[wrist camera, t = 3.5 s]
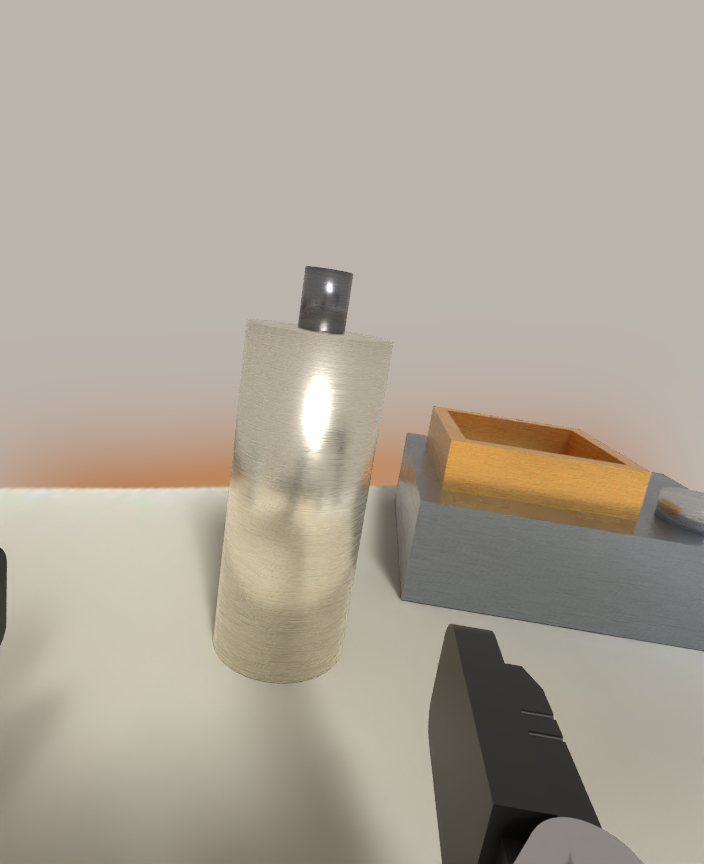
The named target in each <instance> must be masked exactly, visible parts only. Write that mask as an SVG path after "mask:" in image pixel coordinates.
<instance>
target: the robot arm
mask: <svg viewBox="0 0 704 864" xmlns="http://www.w3.org/2000/svg"><path fill="white" fill-rule="evenodd" d="M6 589H7V560H6V555H5V552H4V551H3V550H2V549H1V548H0V645H1V642H2V640H3V637H4V634H5V629H6ZM428 734H429V747H430V756H431V765H432V774H433V783H434V792H435V801H436V811H437V820H438V829H439V838H440V847H441V856H442V864H643V862H642V861H641V860H640V859H639V858H638V857H637V856H636V855H635V854H634V853H633V852H632V851H631V850H630V849H629V848H628V847H627V846H626V845H625V844H623V843H622V842H621V841H620V840H618V839H617V838H616V837H614V836H613V835H611V834H610V833H608V832H606V831H605V830H603V829H602V827H601V825H600V823H599V820H598V818H597V816H596V813H595V811H594V809H593V806H592V804H591V802H590V799H589V797H588V795H587V792H586V790H585V787H584V785H583V783H582V780H581V778H580V776H579V773H578V771H577V769H576V766H575V764H574V762H573V759H572V757H571V755H570V752H569V750H568V748H567V745H566V743H565V742H563V736H562V733H561V731H560V729H559V726H558V724H557V722H556V720H554V719H553V712H552V710H551V708H550V705H549V703H548V701H547V698H546V696H545V693H544V691H543V689H542V688H541V687H540V686H539V685H538V684H537V683H536V682H535V680H534V679H533V678H532V677H531V676H530V675H529V674H528V673H527V672H526V671H525V670H524V668H523V667H522V666H517V665H511V664H505V663H504V660H503V658H502V655H501V652H500V649H499V646H498V643H497V640H496V637H495V635H494V633H493V632H492V631H490V630H484V629H478V628H472V627H466V626H460V625H454V624H450V625H449V626H448V628H447V630H446V633H445V637H444V642H443V646H442V651H441V656H440V660H439V665H438V670H437V674H436V679H435V684H434V688H433V693H432V698H431V703H430V711H429V726H428Z"/></svg>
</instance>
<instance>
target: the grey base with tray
mask: <svg viewBox="0 0 704 864" xmlns="http://www.w3.org/2000/svg"><path fill="white" fill-rule="evenodd" d="M395 507H396V523H397V539H398V554H399V570H400V586H401V600H406V601H412V602H418V603H424V604H430V605H435V606H441V607H447V608H453V609H459V610H465V611H471V612H477V613H483V614H489V615H495V616H501V617H507V618H513V619H519V620H525V621H530V622H536V623H542V624H548V625H554V626H560V627H566V628H572V629H578V630H584V631H590V632H596V633H602V634H608V635H614V636H620V637H626V638H631V639H637V640H643V641H649V642H655V643H661V644H667V645H673V646H679V647H685V648H691V649H697V650H703V651H704V493H702V492H698V491H693V490H690V489H688V488H686V487H684V486H683V485H681V484H679V483H677V482H676V481H674V480H672V479H671V478H669V477H667V476H665V475H664V474H660V473H654V472H650V471H648V470H647V469H645V468H643V467H642V466H640V465H638V464H637V463H635V462H633V461H632V460H630V459H628V458H626V457H625V456H623V455H621V454H620V453H618V452H617V451H615V450H613V449H611V448H610V447H608V446H606V445H605V444H603V443H601V442H600V441H598V440H596V439H595V438H593V437H591V436H590V435H588V434H586V433H585V432H583V431H581V430H580V429H573V428H567V427H561V426H555V425H548V424H542V423H536V422H529V421H523V420H517V419H511V418H505V417H499V416H492V415H486V414H480V413H474V412H467V411H461V410H454V409H448V408H442V407H436V406H433V410H432V416H431V421H430V426H429V432H428V436H425V435H418V434H412V433H407V436H406V441H405V446H404V452H403V458H402V463H401V469H400V474H399V480H398V485H397V491H396V496H395Z"/></svg>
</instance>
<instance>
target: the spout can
mask: <svg viewBox="0 0 704 864" xmlns="http://www.w3.org/2000/svg"><path fill="white" fill-rule="evenodd" d="M352 279H353V274H351V273H348V272H343V271H337V270H332V269H326V268H319V267H311V266H306V268H305V275H304V283H303V291H302V298H301V307H300V315H299V322H298V324H293V323H285V322H276V321H267V320H254V319H249V320H247V325H246V335H245V344H244V353H243V363H242V372H241V381H240V392H239V400H238V410H237V419H236V430H235V438H234V447H233V457H232V466H231V476H230V485H229V494H228V504H227V513H226V522H225V532H224V541H223V550H222V560H221V569H220V579H219V588H218V597H217V607H216V616H215V626H214V635H213V644H214V648H215V651H216V653H217V655H218V656H219V657H220V659H221V660H222V661H223V662H224V663H225V664H226V665H227V666H229V667H230V668H231V669H233V670H234V671H236V672H238V673H240V674H242V675H244V676H247V677H249V678H252V679H256V680H260V681H264V682H272V683H294V682H301V681H305V680H309V679H312V678H315V677H318V676H320V675H322V674H323V673H325V672H327V671H328V670H329V669H331V668H332V667H333V666H334V665H335V664H336V662H337V661H338V659H339V657H340V655H341V651H342V646H343V640H344V634H345V628H346V622H347V616H348V610H349V604H350V598H351V592H352V586H353V580H354V574H355V568H356V562H357V556H358V550H359V544H360V538H361V533H362V527H363V521H364V515H365V509H366V503H367V497H368V491H369V485H370V479H371V473H372V467H373V461H374V455H375V449H376V443H377V437H378V431H379V425H380V419H381V413H382V408H383V401H384V396H385V390H386V384H387V378H388V372H389V366H390V360H391V354H392V348H393V342H392V341H390V340H386V339H382V338H377V337H372V336H368V335H363V334H357V333H351V332H345V326H346V319H347V312H348V306H349V299H350V291H351V285H352Z"/></svg>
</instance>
